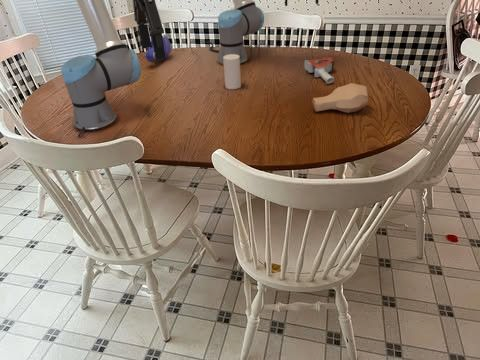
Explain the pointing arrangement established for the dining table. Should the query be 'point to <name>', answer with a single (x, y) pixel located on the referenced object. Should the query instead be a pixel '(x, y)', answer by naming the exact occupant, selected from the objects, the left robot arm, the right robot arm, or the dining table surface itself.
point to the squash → (343, 99)
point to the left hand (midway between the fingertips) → (153, 53)
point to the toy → (151, 55)
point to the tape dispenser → (321, 68)
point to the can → (232, 71)
